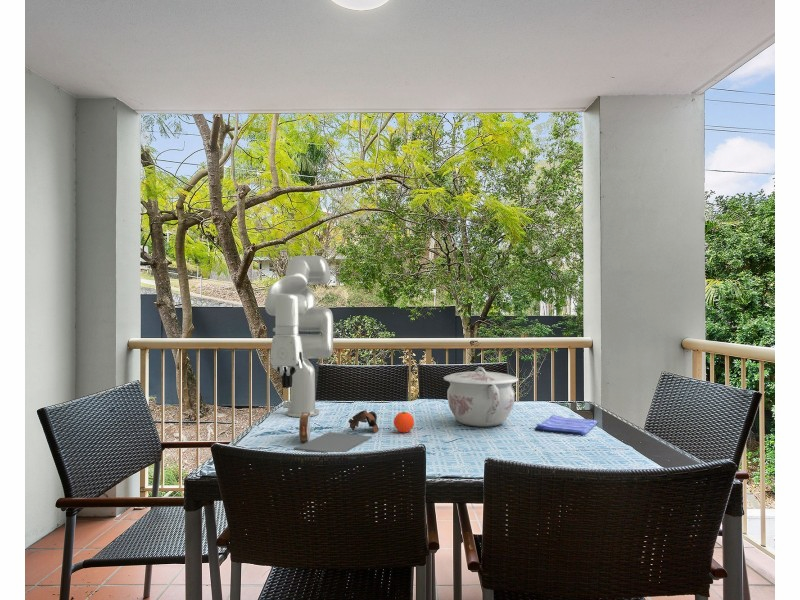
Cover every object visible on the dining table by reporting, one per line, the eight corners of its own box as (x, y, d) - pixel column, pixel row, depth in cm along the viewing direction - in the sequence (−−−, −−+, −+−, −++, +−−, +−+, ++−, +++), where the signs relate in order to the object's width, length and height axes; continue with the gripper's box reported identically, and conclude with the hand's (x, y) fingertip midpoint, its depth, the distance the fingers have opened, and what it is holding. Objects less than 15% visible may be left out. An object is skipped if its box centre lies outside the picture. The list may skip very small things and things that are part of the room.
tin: (302, 435, 197) (301, 410, 197) (312, 434, 197) (310, 409, 197) (299, 445, 182) (297, 417, 182) (309, 444, 182) (307, 417, 182)
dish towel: (533, 432, 202) (533, 424, 202) (551, 419, 223) (551, 412, 223) (584, 438, 194) (584, 429, 194) (598, 424, 214) (598, 416, 214)
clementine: (394, 429, 205) (394, 408, 205) (414, 429, 205) (414, 409, 205) (393, 434, 197) (393, 413, 197) (413, 434, 197) (413, 413, 197)
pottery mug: (373, 437, 196) (361, 416, 196) (353, 446, 200) (341, 425, 200) (388, 421, 206) (376, 401, 206) (368, 430, 211) (356, 410, 211)
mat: (293, 449, 178) (293, 447, 178) (329, 433, 199) (329, 432, 199) (340, 454, 172) (340, 453, 172) (372, 437, 193) (372, 436, 193)
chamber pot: (461, 412, 233) (461, 361, 233) (528, 420, 220) (528, 365, 219) (429, 426, 209) (429, 368, 209) (502, 435, 195) (502, 374, 195)
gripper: (261, 331, 191) (261, 387, 191) (300, 332, 185) (300, 390, 185) (274, 330, 198) (274, 384, 198) (312, 331, 192) (312, 387, 192)
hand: (287, 387), depth 192 cm, fingers closed
